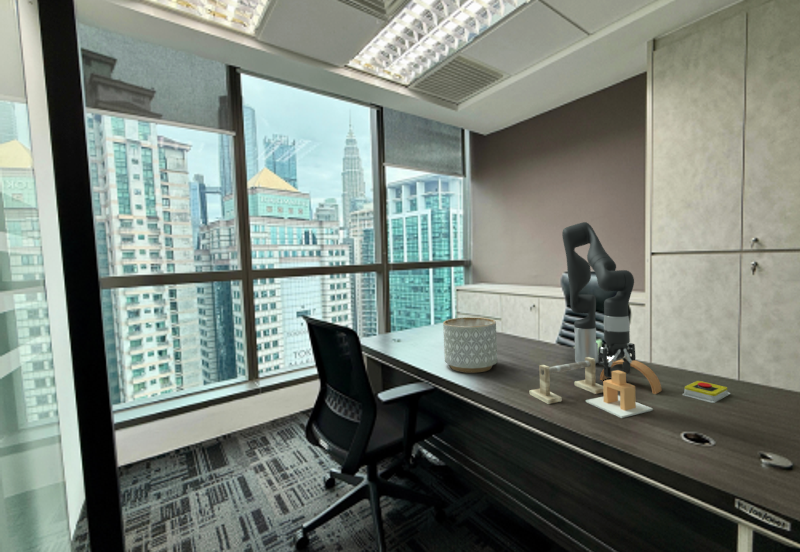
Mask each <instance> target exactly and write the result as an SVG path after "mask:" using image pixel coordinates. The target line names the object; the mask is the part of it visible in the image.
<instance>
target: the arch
mask: <svg viewBox="0 0 800 552" xmlns="http://www.w3.org/2000/svg"><path fill="white" fill-rule="evenodd" d="M623 362H624V361H623V360H622V358H620V359H618V360H615V361H614V362H613V363H612V365H611V369H612V370H613V368H614V367H615V366H616V365H623ZM631 367H632V368H634V369H635V370H636V371H639V373H641V374H642V375H643V376H644V377H645V378H646V379H647V381H648V383H649V384H650V387H651V391H652V394H653V395H657V394H659V393H660V392H662V390H663V389H662V385H661V382H660V379H659V377H658V376H657V375H656V373H655V372H654V371H653V370H652V369H651V368H650V366H647V365H646V364H645V363H643V362H641V361H638V360H636V359H635V361H634V360H633V361H632V362H631ZM607 378H608V379H609V377H606V376H605V375H604V368H603V369H602V371H601V372H600V376H599V381H600V380H602V381H601V382H603V380H604V381H605V379H606V380H608V379H607Z"/></svg>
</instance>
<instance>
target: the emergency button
mask: <svg viewBox="0 0 800 552" xmlns="http://www.w3.org/2000/svg"><path fill="white" fill-rule="evenodd" d="M729 395H731V392H729V391H728V387H727V386H724V385H718V384H716V383H715V384H714V383H710V382H705V381H701V380H696V381H694V382H692V383H689V384H687V385H685V386H684V393H682V396H684V397H689V398H692V399H695V400H699V401H704V402H707V403H711V404H712V403H717V402H719V401H721V400H722V399H723V398H725V397H727V396H729Z"/></svg>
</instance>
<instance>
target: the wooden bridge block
mask: <svg viewBox="0 0 800 552" xmlns="http://www.w3.org/2000/svg"><path fill="white" fill-rule="evenodd" d="M602 382H603V383H602V384H603V385H602V386H603V392H602V393H603V396H604V402H605V403H611V402H615V401H618V395H619V396H620V409H622V410H624V411H625V410H629V409H633V408H636V401H637V400H636V386H635V385H633V384H631V383H627V373H626V372H623V370H619V369H617V370H612V377H611V379H606V380H604V381H602ZM603 396H602V397H603Z"/></svg>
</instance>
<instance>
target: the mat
mask: <svg viewBox="0 0 800 552" xmlns="http://www.w3.org/2000/svg"><path fill="white" fill-rule="evenodd" d="M585 403H587V404H590V405H591V406H593V407H596V408H598V409H600V410H603V411H604V412H607V413H609V414H611V415H614V416H616V417H618V418H620V419H624V418H628V417H631V416H635V415H639V414H643V413H647V412H651V411H654V409H653V407H650V406H647V405H645V404H641V403H639V402H636V408H633V409H629V410H625V411H624V410H622V409H620V394H618V401H615V402H611V403H605V402H604V396H600V397H595V398H589V399H586V400H585Z"/></svg>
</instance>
